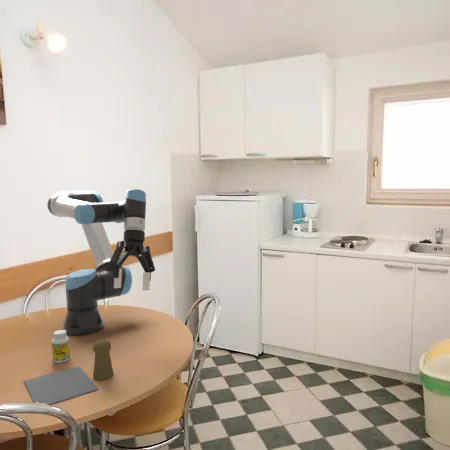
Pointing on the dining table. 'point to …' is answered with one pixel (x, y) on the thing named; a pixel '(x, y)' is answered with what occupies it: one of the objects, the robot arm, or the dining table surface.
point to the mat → (60, 386)
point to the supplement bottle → (60, 347)
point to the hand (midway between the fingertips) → (132, 289)
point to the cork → (102, 361)
